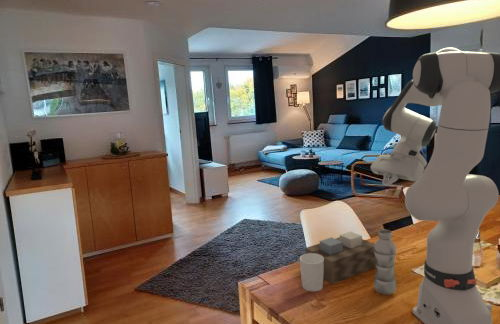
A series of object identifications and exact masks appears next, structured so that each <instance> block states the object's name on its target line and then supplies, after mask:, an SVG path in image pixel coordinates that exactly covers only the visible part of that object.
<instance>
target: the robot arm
mask: <svg viewBox="0 0 500 324" xmlns="http://www.w3.org/2000/svg"><path fill="white" fill-rule="evenodd" d="M499 91H500V53H498V52H490V51H488V52H478V51H463V50H460V49H458V48H456V47H445V48H442V49H439V50H438V51H436V52H435V51H434V52H429V53H425V54H423V55H421V56H419V57H418V59H417V60H416V63H415V65H414V67H413V70H412V79H411V80H410V81H408V82H407V83H406V85H405V86H404V87H403V89H402V90H401V91H400V93H399V94H398V96H397V97H396V99H395V100H394V102H393V104H392V105H391V106H390V107H388V109H386V112H384V115H383V117H382V125H383V127H384V130H386V131H388V132H391V133H394V134H397V135H398V136H401V137H400V140H399V141H398V142H397V143H396V144H395V146H394V147H393V149H392V151H391V152H390V153H386V152H385V153H382V154H379V156H378V157H376V159H375V160H374V161H373V162H372V164H371V165H370V171H371V172H372V173H373V174H376V175H381V176H383V180H382V182H381V184H382V185H383V186H387V187H391V186H392V185H393V183H396V182H397V181H398V180H399V179H401V180H406V181H412V182H413V183H412V184H411V185H410V186H409V187H408V188H407V189H406V192H405V194H404V195H405V196H404V204H405V208H406V210H407V211H408V213H409V214H410V215H411V216H412V218H414V219H415V220H419V221H424V222H425V221H426V222H437V224H436V225H435V226H434V227H433V228H432V229H431V230H430V232H429V233H428V235H427V237H426V258H425V260H424V265H423V274H424V277H423V280H422V281H421V282H420V284H419V286H418V293H417V303H416V305H415V306H414V307H413V308H412V313H413V315H414V316H416V318H417V319H419V320H420V321H421V322H422V323H424V324H493V319H492V314H491V312H492V311H493V309H492V305H491V303H489V302H485V301H484V299H483V297H482V292H481V291H479V290H478V288H477V286H476V285H477V284H478V282H477V281H478V279H476V274H475V271H474V268H473V255H474V246H475V245H474V244H475V241H476V237H477V234H478V232H479V229H480V227H481V226H482V223H483V221H484V219H485V217H486V216H487V214H488V213H489V212H490V211H491V210H492V209H493V208H494V207H495V206H496V205H497V203H498V201H499V196H500V195H499V194H500V193H499V189H498V187H497V185H496V183H495V182H494V180H492V179H491V178H490V177H487V176H485V175H480V174H472V173H471V174H470V172H471V171H472V170H473V169H474V168H475V167H476V166H477V165H478V164H479V163H480V162H482V160H483V158H484V155H485V151H486V150H485V149H486V143H487V139H488V132H489V129H490V128H489V127H490V120H491V107H492V106H491V103H492V102H491V94H493V93H497V92H499ZM407 104H418V105H423V106H426V107H438V106H440V107H441V108H440V110H439V116H438V122H437V124H436V122H435V120H433V119H432V118H430V117H427V116H425V115H422V114H419V113H418V112H415V111H413V110H411V109H408V108H406V106H407ZM435 134H436V136H435ZM434 136H435V141H434V147H433V150H432V154H431V157H430V159H429V162H427V160H426V159H425V158H424V156H423V155H422V154H421V153H420V151H421V149H422V148H424V147H426V146H428V145H429V144H430V142H431V140H432V139H433V138H434Z"/></svg>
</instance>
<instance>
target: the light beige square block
mask: <svg viewBox="0 0 500 324" xmlns="http://www.w3.org/2000/svg"><path fill="white" fill-rule="evenodd" d="M339 237H340V241H341V242H343V245H344V246H346V247H348V248H350V249H351V248H354V247H357V246H360V245H362V239H363V235H361V234H359V233H355V232H354V231H348V232H344V233H341V234H339Z"/></svg>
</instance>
